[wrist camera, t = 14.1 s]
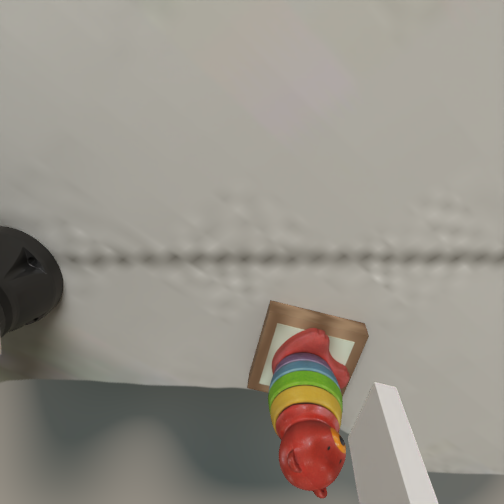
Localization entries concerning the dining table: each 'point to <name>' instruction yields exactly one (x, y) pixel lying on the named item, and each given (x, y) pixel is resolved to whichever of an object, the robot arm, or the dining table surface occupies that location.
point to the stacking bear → (308, 410)
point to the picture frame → (294, 321)
